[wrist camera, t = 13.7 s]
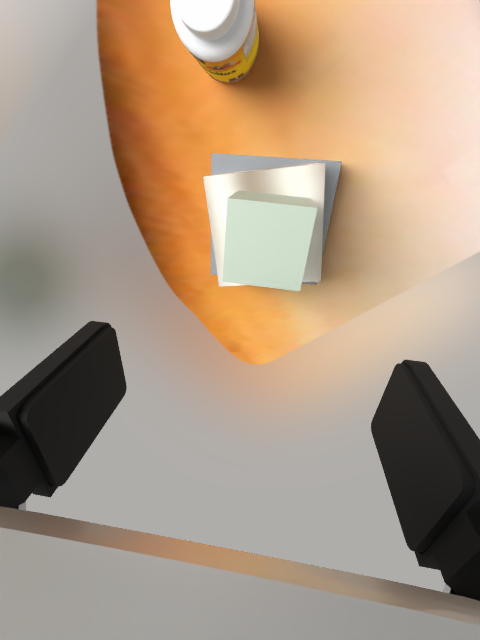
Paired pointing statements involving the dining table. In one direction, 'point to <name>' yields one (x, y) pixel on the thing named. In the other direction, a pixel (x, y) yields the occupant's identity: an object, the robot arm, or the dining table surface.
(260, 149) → the dining table surface
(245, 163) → the base block
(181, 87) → the dining table surface
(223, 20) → the supplement bottle
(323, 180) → the top block
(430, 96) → the dining table surface
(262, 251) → the sage block
